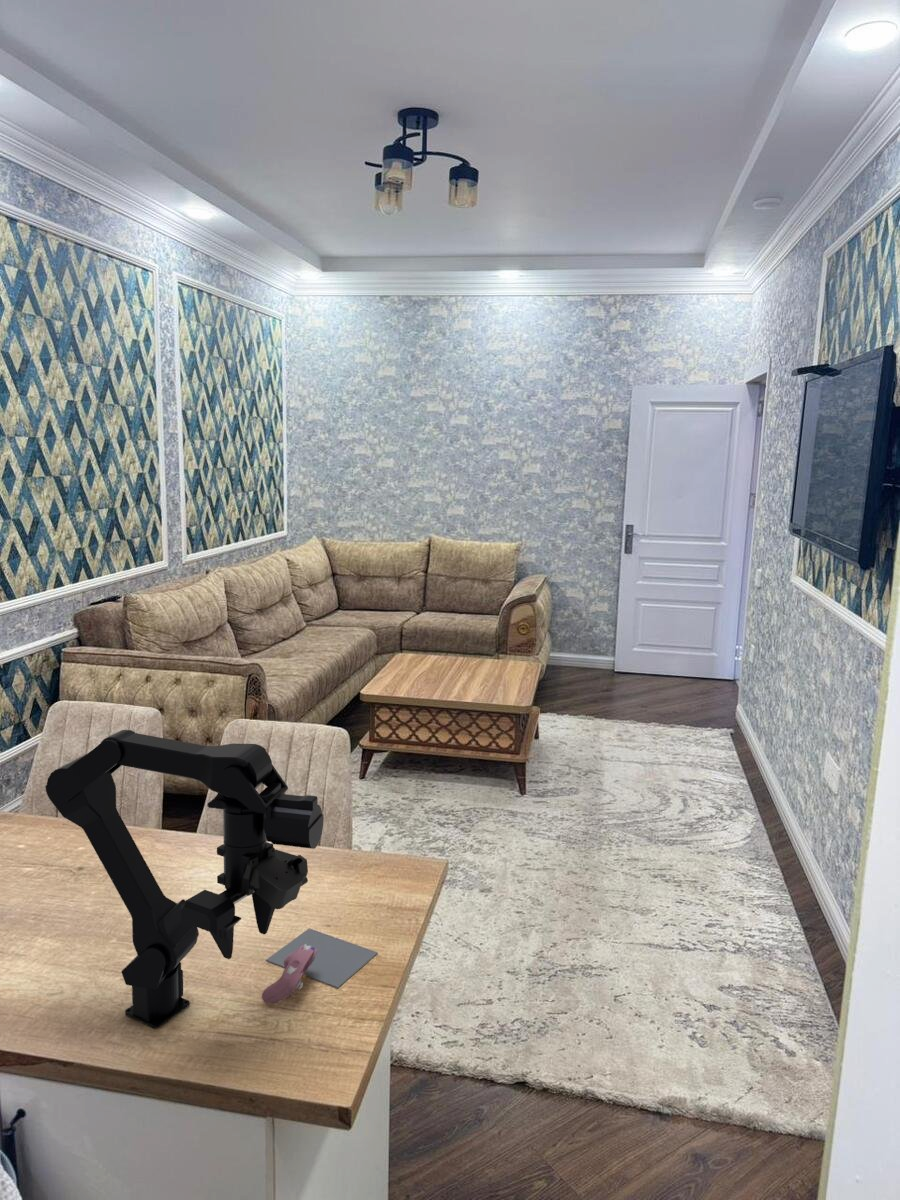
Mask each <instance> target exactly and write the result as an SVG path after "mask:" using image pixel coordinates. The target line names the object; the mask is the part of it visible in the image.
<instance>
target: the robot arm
mask: <svg viewBox="0 0 900 1200" xmlns="http://www.w3.org/2000/svg"><path fill="white" fill-rule="evenodd" d="M122 766H124V767H129V768H134V769H139V770H144V771H150V772H154V773H158V774H159V773H161V774H166V775H170V776H176V777H179V778H181V777H182V778H185V779H191V780H195V781H196V782H200V783H202V784H203V785H204V786H205V787H207V788H208V789H209V791H210V790H211V791H212V792H214V793H217V794H216V795H215V796H214V797H213V798H212V799H211V800H210V801H209V802H207V807H208V808H210V809H219V810H223V811H222V815H223V820H222V821H223V822H222V823H223V832H222V833H223V843H222V844H221V845H219V846H217V847H216V855H218V856H220V857H223V872H222V873H220V874H218V875H217V876H216V878H217V880H216V882H217V884H219V885H222V886H224V889H225V890H224V891H222V892H220V893H215V892H213V891H210V890H207V889H203V890H201V891H200V892H198V893H196V894H194V895H193V896H191V897H189V898H188V899H186V900H185V899H181V900H180V901H178V902H176V901H173V900H172V899H170V898H168V897H166V895H165V894H164V893H163V891H162V889H161V887H160V886H159V884H158V881H157V880H156V878H155V876H154V875H153V872H152V871H151V870H150V867H149V866H148V864H147V862H146V860H145V858H144V857H143V855H142V852H141V851H140V849H139V848H138V846H137V844H136V842H135V840H134V838H133V837H132V835H131V833H130V831H129V829H128V827H127V826H126V824H125V822H124V820H123V818H122V817H121V815H120V813H119V811H118V808H117V786H116V783H115V781H114V778H113V775H112V774H113V773H115V772H116V771H117V770H118V769H120V768H121V767H122ZM46 782H47V783H46V785H45V792H46V793H45V794H46V795H47V797H48V800H50V801H51V803H52V804H53V806H54V807H55V808H56V809H57V811H58V812H59V814H60V815H61V816H62V817H63V818H65V819H66V820H67V821H69V822H71V823H73V824H75V825H76V826H78V827H80V828H81V829H82V830H83V832H84V833H85V835H86V837H87V839H88V841H89V842H90V844H91V846H92V848H93V850H94V852H95V853H96V856H97V857H98V859H99V861H100V862H101V864H102V866H103V867H104V868H103V869H104V870H105V872H106V873H107V876H109V878H110V881H111V882H112V883H113V886H114V888H115V889H116V891H117V893H118V894H119V897H120V898H121V900H122V902H123V903H124V905H125V907H126V910H127V911H128V913H129V915H130V917H131V924H132V927H131V928H132V929H131V930H132V932H131V934H132V944H133V947H134V950H135V953H136V956H135V957H134V958H133V959H132V960H131V961H130V962H129V963H128V964H127V965H126V966H125V967H124V968H123V969H122V970H121V974H122V977H123V981H124V984H125V986H131V994H132V995H131V997H132V998H131V999H132V1005H131V1006H129V1007H128V1008H126V1009H125V1011H124V1014H125V1016H127V1017H129V1018H131V1019H134V1020H136V1021H137V1022H140V1023H142V1024H145V1025H147V1026H149V1027H151V1028H153V1029H158V1028H160V1027H161V1026H163V1025H164V1024H166V1023H167V1022H169V1021H170V1020H171V1019H173V1018H174V1017H175V1016H177V1015H178V1014H179V1013H181V1012H182V1011H184V1010H185V1009H187V1008H188V1007H189V1006H190V1004H191V1001H190V1000H188V999H186V998H184V997H183V996H184V971H183V969H182V961H183V960H184V959H185V957H187V955H188V954H189V953H190V952H191V950H193V948H194V947H195V945H196V944H197V942H198V938H199V934H200V933H199V929H200V930H203V931H206V932H209V933H210V935H211V936H212V939H213V940H214V942H215V944H216V946H217V947H218V949H219V951H220V953H221V955H222V956H223V958H225V959H227V960H230V959H232V958H233V957H232V956H233V950H234V936H235V935H234V933H235V925H236V924H238V923H239V922H240V921H241V920H242V917H240V916H237V915H236V906H235V904H237V903H239V902H241V901H242V900H244V899H245V898H247V897H249V896H251V898H252V903H253V910H254V915H255V921H256V925H257V929H258V932H259V934H261V935H266V934H268V930H269V928H270V925H271V921H272V919H273V916H274V913H275V910H281V909H283V908H284V907H285V906H286V905H287V904H289V903H290V902H292V901H295V900H297V898H298V895H299V892H300V889H301V887H303V886H304V885H305V884H307V883H308V881H309V880H308V877H307V876H308V874H309V873H308V872H309V869H308V859H307V858H305V857H304V856H302V855H301V854H298V855H295V854H292V853H289V852H285V851H282V850H278V849H275V847H274V845H278V846H285V847H296V848H305V849H310V850H311V849H313V850H314V849H316V848H317V847H318V845H319V843H320V840H321V838H322V834H323V829H324V819H325V817H324V815H325V814H323V810H322V807H321V805H320V804H318V801H319V798H318V796H317V795H309V794H308V795H294V794H289V793H288V794H287V793H286V792H287V791H288V790H289V787H288V785H287V783H286V782H285V780H284V779H283V778H282V776H281V775H280V773H279V772H278V771H277V769H276V768H275V766H274V764H273V761H272V758H271V755H270V754H269V753H268V752H267V751H266V748H265V747H263V745H260V744H257V743H227V744H221V745H203V744H199V743H198V744H197V743H192V742H186V741H181V740H176V739H171V738H164V737H159V736H154V735H149V734H144V733H143V734H142V733H137V732H135V731H133V730H131V729H122V730H119V731H117V732H115V733H113V734H111V735H109V736H107V737H105V738H104V739H102V741H101V742H100V743H99V744H98V745H97V746H95V747H94V748H93V749H91V750H90V751H89V752H87V753H86V754H84V755H82V756H79V757H78V758H75V759H74V760H71V761H70V762H68V763H66V764H64V765H62V766H61V767H58V768H56V769H55V770H53V771H52V772H51V773H50V774H49V776H48V778H47V781H46ZM262 784H263V785H264V787H265V788H264V789H263V790H262V791H260V793H259V792H258V791H257V789H258V788H259V787H260V786H261V785H262Z"/></svg>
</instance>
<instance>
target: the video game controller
mask: <svg viewBox="0 0 900 1200" xmlns="http://www.w3.org/2000/svg"><path fill="white" fill-rule="evenodd" d="M317 951H318V950H317V949H316V948H314V947H312V946H308V945H306V944H305V945H302V946H301V947H300V948H299V949H298V950H297V951H295V952H293V953H291V954H290V955H288V956H287V957H286V959H285V960H284V966H285V968H284V970H283V973H282V975H281V976H280V977H279V979H277V980H276V981H275V982H273V983H272V984H271V985H269V986H267V987H266V988H265V989H264V990H263V991H262V994H261V999H262V1001H263V1002H264V1003H266V1004H276V1003H279V1002H281V1001H282V1000H284V999H286V998H288V997H291V996H292V995H293V993H294V991H296V990H297V989H298V991H300V990H301V989H302V988H303V986H304V982H303V981H302V980H305V978H306V975H305V972H306V970H307V969H308V967H309V966H310V965H311V964H312V962H313V961H314V959H315V956H316V954H317Z"/></svg>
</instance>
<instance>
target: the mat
mask: <svg viewBox="0 0 900 1200" xmlns="http://www.w3.org/2000/svg"><path fill="white" fill-rule="evenodd" d="M305 944H306V945H308V946H312V947H314V948H316V949H317V950H318V951H317V954H316V956H315V959H314V961H313V962H312V964H311V965H310V966H309V967H308V969H307V970H306V972H305V975H306V977H307V978H309V979H312V980H315V981H317V982H320V983H322V984H325V985H327V986H331V987H333V988H336V989H339V988H341V986H343V985H344V984H345V983H346V982H348V980H349V979H351V978H352V977H353V976H354V975H355V974H357V972H358V971H360V970H361V969H362V968H363V967H364V966H366V964H368V963H369V962H370V961H371V960H372V959H374V958H375V957H376V956H377V955H378V954H379V952H378V951H375V950H372V949H369V948H367V947H363V946H360V945H358V944H355V943H352V942H349V941H347V940H343V939H341V938H338V937H335V936H333V935H329V934H327V933H323V932H321V931H318V930H315V929H313V928H310V927H309V928H307V929H306V930H304V931H303V932H302V933H301V934H299V935H298V936H297V937H295V938H294V939H292V940H291V941H289V942H288V943H287V944H285V945H284V946H282V947H281V948H280V949H279V950H278V951H276V952H274V953H273V954H272V955H270V956H269V957H268V958H267V959H265V962H268V963H271V964H273V965H275V966H278V967H280V968H282V969H286V968H285V966H284V960H285V959H286V957H287V956H288V955H290V954H291V953H293V952H295V951H297V950H298V949H299V948H300V947H301V946H302V945H305ZM306 977H305V978H306Z"/></svg>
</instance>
